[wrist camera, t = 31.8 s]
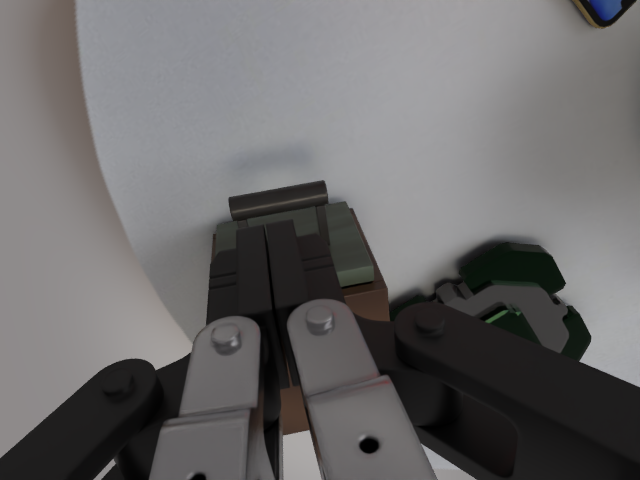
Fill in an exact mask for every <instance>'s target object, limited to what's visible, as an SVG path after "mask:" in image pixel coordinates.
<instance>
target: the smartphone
mask: <svg viewBox="0 0 640 480" xmlns="http://www.w3.org/2000/svg"><path fill="white" fill-rule="evenodd" d="M572 1H574V3H575V4H576V5H577V7H578V8H579V9H580V11H581V12H582V14H583V15H584V16H585V18H586V19H587V21H588V22H589V23H590V24H591V25H592V26H594V27H595V28H601V29H603V28H606V27H609V26H611V25H612V24H614V23H615V22H616V21H617V20H618V19H619V18H620V17H621V16H622V15H623V14H624V13H625V12H626V11H627V10H628V9H629V8H630V7H631V6H632V5H633V4H634V3H635V2H636V1H637V0H572Z"/></svg>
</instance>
